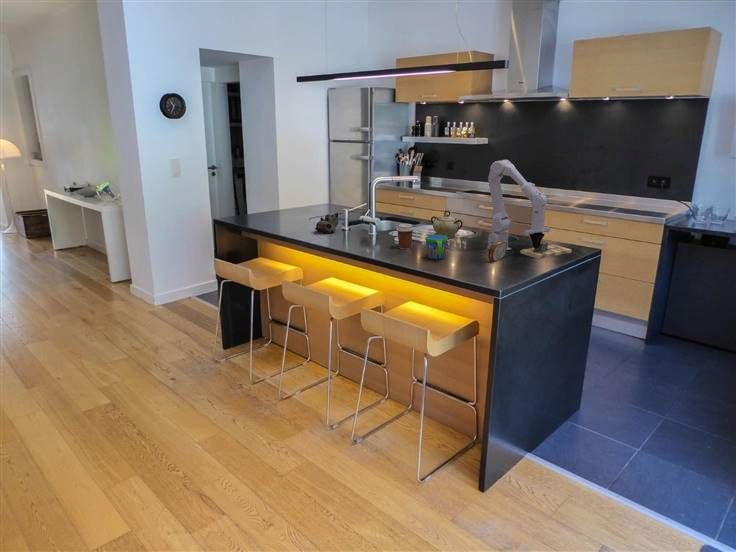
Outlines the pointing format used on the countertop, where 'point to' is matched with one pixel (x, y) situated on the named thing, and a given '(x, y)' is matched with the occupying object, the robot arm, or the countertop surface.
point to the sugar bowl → (446, 225)
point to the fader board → (546, 252)
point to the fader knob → (542, 247)
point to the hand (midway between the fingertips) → (535, 247)
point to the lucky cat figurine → (328, 223)
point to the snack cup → (436, 246)
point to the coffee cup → (405, 235)
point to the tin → (497, 251)
